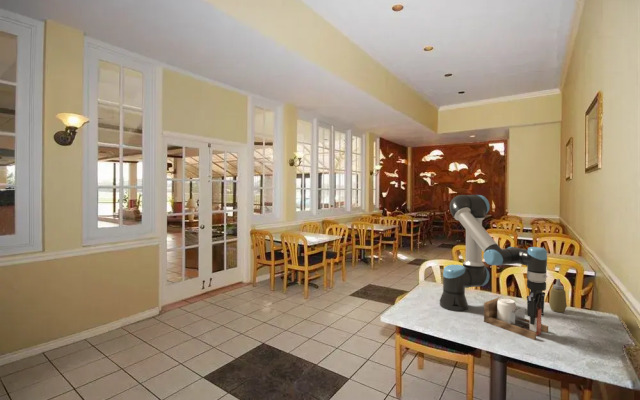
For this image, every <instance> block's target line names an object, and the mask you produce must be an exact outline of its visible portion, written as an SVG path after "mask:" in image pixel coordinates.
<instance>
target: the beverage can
mask: <svg viewBox="0 0 640 400" xmlns="http://www.w3.org/2000/svg"><path fill="white" fill-rule="evenodd" d="M498 298H499V299H498V301H497V319H498V320H501V321H504V322H507V323H510V324H511V312H514V311H516V310H517V309H516V308H517V304H516V301H515V300H514V299H510V298H507V297H498Z"/></svg>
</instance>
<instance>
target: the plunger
mask: <svg viewBox="0 0 640 400" xmlns="http://www.w3.org/2000/svg"><path fill="white" fill-rule="evenodd" d="M541 314H543V313H542V309H541V308H538V307H537V312H536V318H537V332H536V337H537V336H539V335H541V334H542V331H541V324H542V315H541ZM525 319H526V309H524V308H518V309H516V311H514V312H511V324H512V325H515V326H518V327H521V328H523V327H527V326H529V327H528V328H529V329H528V330H530V323H528V322H525ZM525 325H527V326H525ZM530 331H532V330H530ZM533 332H534V331H533Z"/></svg>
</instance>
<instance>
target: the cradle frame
mask: <svg viewBox="0 0 640 400" xmlns="http://www.w3.org/2000/svg"><path fill="white" fill-rule="evenodd" d="M499 298H500V297H497V298H494V299H490V300H488V301H484V303H483V306H484V307H483V308H484V309H483V322H484V323H486V324H489V325H491V326H495V327H496V328H500V329H503V330H506V331H509V332H512V333H514V334H517V335H520V336H522V337H525V338H529V339H531V340H533V341H535V340H536V339H537V335H536V332H533V331H530V330H529V329H527V328H529V326H527V325H525V326H524V328H523V327H518V326H515V325H512V324H510V323H507V322H504V321H501V320H498V319H497V301H498V299H499ZM525 322H528V323H530V319H527V318H525ZM525 327H527V328H525ZM542 332H543V333H545V334H546V333H547V334H548V333H549V326H548V325H546V324H543V323H541V333H542Z"/></svg>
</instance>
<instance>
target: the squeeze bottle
mask: <svg viewBox="0 0 640 400" xmlns="http://www.w3.org/2000/svg"><path fill="white" fill-rule="evenodd" d="M549 293H550V294H549V300H548V301H549V302H548V304H549V308H550V310H551V311H553V312H556V313H565V311H566V308H567V306H568V305H567V296H566V295H567V294H566V290H565V289H564V285H562V283H561V278H557V279H556V281H555V284H552V288H551V289H550V292H549Z"/></svg>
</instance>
